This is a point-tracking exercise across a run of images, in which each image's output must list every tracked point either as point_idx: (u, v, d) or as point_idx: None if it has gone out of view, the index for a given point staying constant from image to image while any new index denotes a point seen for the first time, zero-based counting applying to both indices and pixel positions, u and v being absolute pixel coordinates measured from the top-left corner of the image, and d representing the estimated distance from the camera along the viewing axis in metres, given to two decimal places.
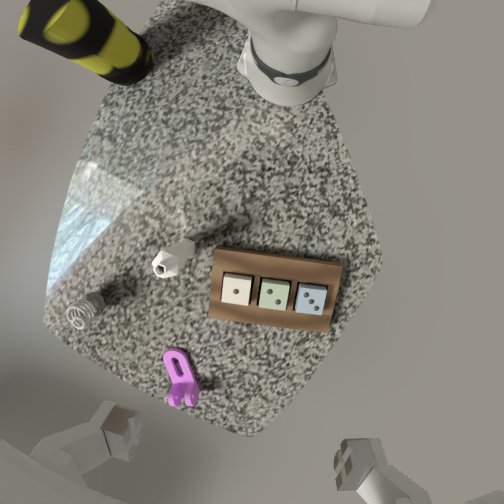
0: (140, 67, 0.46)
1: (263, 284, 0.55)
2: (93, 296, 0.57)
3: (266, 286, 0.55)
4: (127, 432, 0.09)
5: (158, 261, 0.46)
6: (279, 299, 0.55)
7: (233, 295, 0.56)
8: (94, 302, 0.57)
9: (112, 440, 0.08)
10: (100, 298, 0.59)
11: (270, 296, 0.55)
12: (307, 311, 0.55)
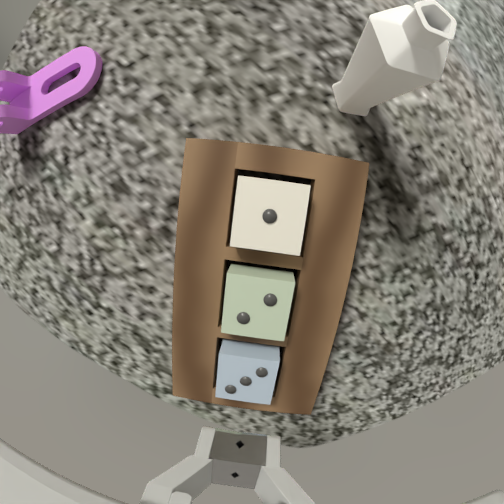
0: None
1: (289, 285, 0.22)
2: None
3: (283, 291, 0.22)
4: (237, 457, 0.08)
5: None
6: (248, 320, 0.23)
7: (258, 208, 0.21)
8: None
9: (220, 468, 0.08)
10: None
11: (257, 301, 0.22)
12: (222, 374, 0.24)
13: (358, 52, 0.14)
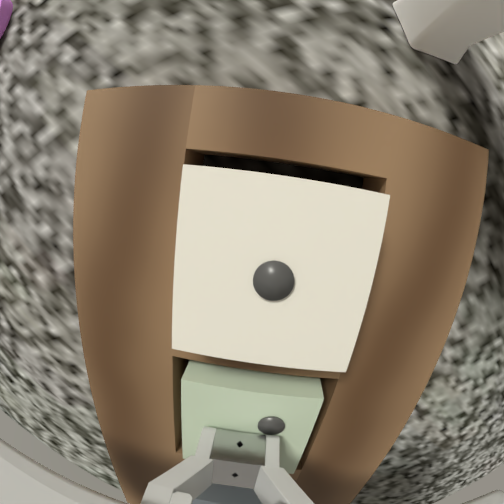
0: None
1: (311, 403, 0.10)
2: None
3: (298, 414, 0.10)
4: (238, 458, 0.08)
5: None
6: None
7: (241, 259, 0.07)
8: None
9: (221, 468, 0.08)
10: None
11: (246, 426, 0.10)
12: None
13: None
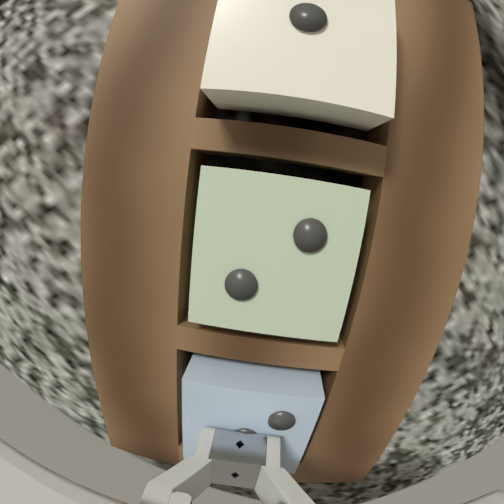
0: None
1: (357, 197, 0.08)
2: None
3: (342, 214, 0.09)
4: (238, 457, 0.08)
5: None
6: (255, 291, 0.09)
7: (277, 3, 0.06)
8: None
9: (221, 468, 0.08)
10: None
11: (278, 240, 0.09)
12: (193, 422, 0.10)
13: None
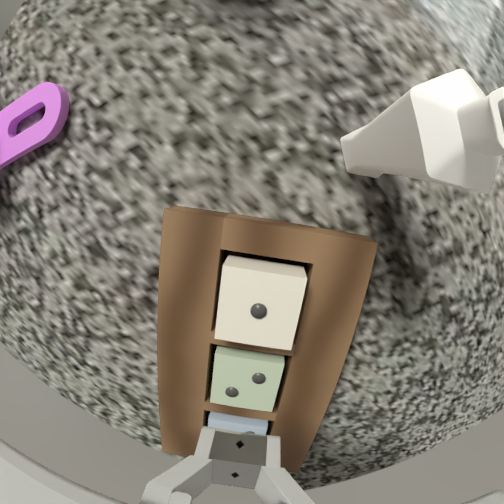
0: None
1: (278, 366, 0.21)
2: None
3: (272, 372, 0.21)
4: (237, 457, 0.08)
5: None
6: (237, 394, 0.21)
7: (245, 302, 0.18)
8: None
9: (220, 468, 0.08)
10: None
11: (246, 379, 0.21)
12: None
13: (382, 125, 0.11)
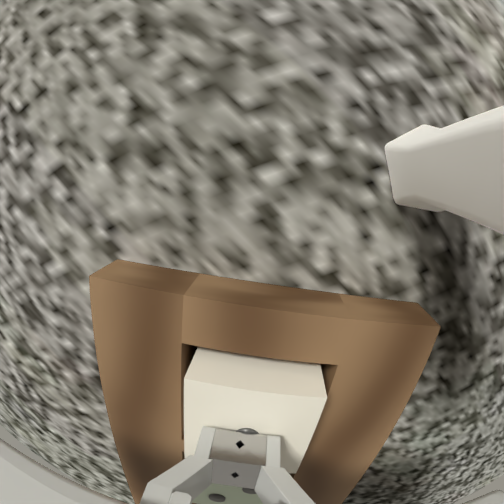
0: None
1: None
2: None
3: None
4: (238, 458, 0.08)
5: None
6: (224, 499, 0.13)
7: (226, 425, 0.10)
8: None
9: (220, 468, 0.08)
10: None
11: (235, 489, 0.13)
12: None
13: None
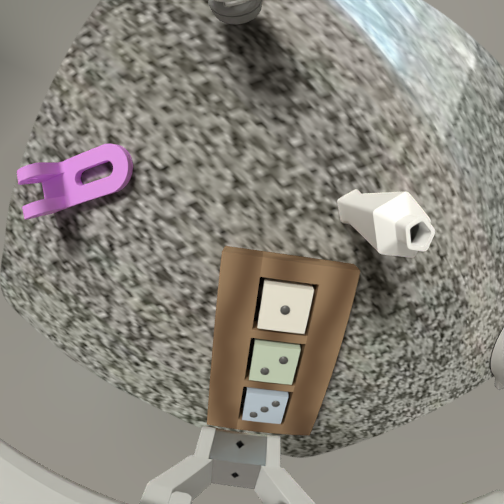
0: None
1: (296, 351, 0.31)
2: (259, 3, 0.21)
3: (292, 355, 0.31)
4: (238, 457, 0.08)
5: (415, 214, 0.18)
6: (268, 372, 0.32)
7: (277, 305, 0.30)
8: (247, 4, 0.21)
9: (221, 468, 0.08)
10: (251, 17, 0.23)
11: (275, 361, 0.32)
12: (248, 405, 0.34)
13: (360, 214, 0.22)
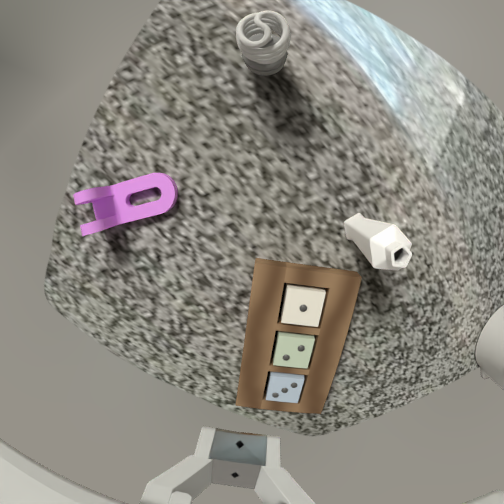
0: None
1: (311, 341, 0.40)
2: (285, 60, 0.30)
3: (308, 344, 0.40)
4: (237, 457, 0.08)
5: (399, 240, 0.26)
6: (289, 358, 0.41)
7: (297, 304, 0.39)
8: (276, 61, 0.29)
9: (221, 468, 0.08)
10: (277, 70, 0.31)
11: (294, 349, 0.40)
12: (271, 387, 0.42)
13: (361, 238, 0.30)
